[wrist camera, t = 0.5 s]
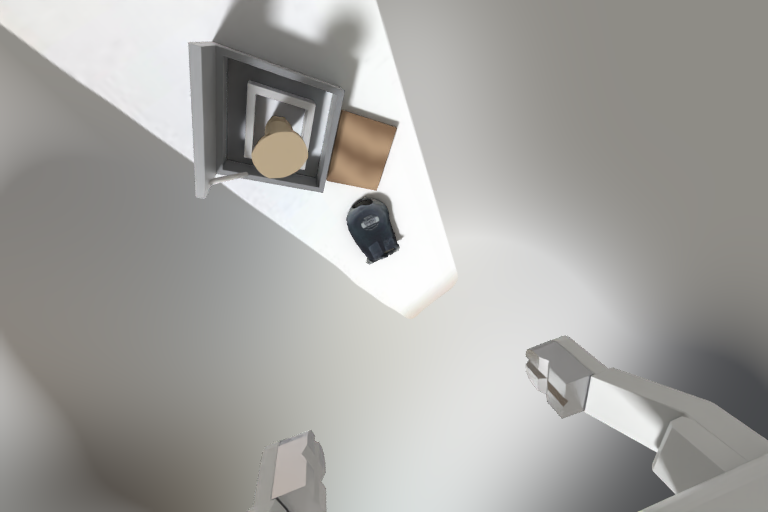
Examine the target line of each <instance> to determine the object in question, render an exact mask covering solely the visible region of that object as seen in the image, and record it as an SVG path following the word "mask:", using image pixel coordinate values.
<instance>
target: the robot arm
mask: <svg viewBox="0 0 768 512" xmlns="http://www.w3.org/2000/svg"><path fill="white" fill-rule="evenodd" d="M526 357H527V358H528V359H529V361H528V362H527V364H526V372H527V375H528V377H529V379H530V381H531V383H532V384H533V385H534V387H535V388H536V389H537V390H538V391H540V392H542V393H544V394H546V397H547V402H548V403H549V404H550V405H551V407H552V408H553V409H554V410H555V411H556V412H557V414H559V416H560V417H561V418H565V417H568V416H571V415H574V414H576V413H579V412H582V411H585V413H587V414H589V415H591V416H593V417H594V418H596V419H598V420H600V421H602V422H604V423H605V424H607V425H609V426H611V427H612V428H614V429H616V430H618V431H620V432H621V433H623V434H625V435H627V436H629V437H630V438H632V439H634V440H636V441H638V442H639V443H641V444H643V445H645V446H646V447H648V448H650V449H652V450H654V451H655V452H657V454H656V457H655V459H654V461H653V463H652V469H653V471H654V472H655V474H656V475H658V477H659V478H660V479H661V480H662V481H663V482H664V483H665V484H666V485H667V486H668V487H669V488H670V489H671V490H672V491H673V492H674V493H675V494H676V495H674V496H672V497H670V498H667V499H665V500H663V501H661V502H659V503H657V504H654V505H652V506H650V507H648V508H645V509H643V510H641V511H639V512H768V440H766V439H765V438H763V437H762V436H761V435H759V434H758V433H756V432H755V431H753V430H752V429H750V428H749V427H747V426H746V425H744V424H743V423H742V422H740V421H739V420H737V419H736V418H734V417H732V416H731V415H730V414H728V413H727V412H725V411H724V410H723V409H721V408H720V407H718V406H717V405H715V404H714V403H712V402H710V401H706V400H704V399H701V398H698V397H695V396H693V395H689V394H687V393H684V392H681V391H678V390H675V389H672V388H670V387H667V386H664V385H661V384H658V383H655V382H653V381H649V380H647V379H644V378H641V377H638V376H635V375H632V374H630V373H627V372H624V371H621V370H618V369H615V368H609V369H608V368H607V367H606V366H605V365H603V364H602V363H601V362H600V361H598V360H597V359H596V358H595V357H593V356H592V355H591V354H590V353H588V352H587V351H586V350H585V349H583V348H582V347H581V346H580V345H578V344H577V343H576V342H575V341H573V340H572V339H571V338H570V337H568V336H561V337H559V338H556V339H554V340H550V341H548V342H545V343H543V344H540V345H537V346H535V347H532V348H530V349H528V350H527V351H526ZM325 473H326V471H325V458H324V453H323V449H322V447H321V445H320V443H319V442H316V441H315V435H314V434H313V432H312V430H309V431H306V432H303V433H300V434H298V435H295V436H292V437H289V438H286V439H284V440H280V441H277V442H275V443H272V444H269V445H267V446H265V448H264V450H263V452H262V457H261V463H260V469H259V474H258V480H257V487H256V492H255V497H254V503H253V508H250V509H248V510H247V512H326V488H325V486H324V485H323V483H322V482H321V481H322V479H323V477H324V475H325Z"/></svg>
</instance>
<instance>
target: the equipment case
mask: <svg viewBox="0 0 768 512" xmlns="http://www.w3.org/2000/svg"><path fill="white" fill-rule="evenodd" d="M188 46H189V66H190V87H191V107H192V128H193V148H194V168H195V188H196V197H197V198H204V199H206V196H207V194H208V191H209V189H210V187H211V185H213V184H217V183H221V182H226V181H230V180H234V179H239V178H243V179H249V180H254V181H260V182H265V183H271V184H277V185H282V186H288V187H293V188H299V189H304V190H310V191H316V192H321V193H323V191H324V186H325V181H326V177H327V172H328V167H329V163H330V158H331V153H332V149H333V144H334V139H335V135H336V130H337V125H338V121H339V116H340V111H341V107H342V102H343V97H344V93H345V91H344V90H343V89H342V88H340V87H338V86H335V85H333V84H330V83H327V82H324V81H321V80H319V79H316V78H313V77H310V76H307V75H305V74H302V73H299V72H296V71H293V70H291V69H288V68H285V67H282V66H279V65H277V64H274V63H271V62H268V61H265V60H263V59H260V58H257V57H254V56H251V55H248V54H246V53H243V52H240V51H237V50H234V49H232V48H229V47H226V46H223V45H220V44H218V43H215V42H188ZM228 58H231V59H234V60H237V61H240V62H243V63H245V64H248V65H251V66H254V67H257V68H260V69H263V70H266V71H269V72H272V73H275V74H278V75H281V76H283V77H286V78H289V79H292V80H295V81H298V82H301V83H304V84H307V85H310V86H313V87H316V88H319V89H321V90H324V91H327V92H330V93H333V94H332V100H331V105H330V110H329V115H328V120H327V125H326V130H325V136H324V141H323V146H322V151H321V156H320V161H319V166H318V171H317V177H316V178H315V177H310V176H305V175H300V174H295V173H293V174H291V175H289V176H287V177H283V178H268V177H266V176H264V175H262V174H261V173H260V172H259V171H258V170H257V168H256V167H255V165H250V164H245V163H240V162H235V161H230V160H226V157H227V84H228ZM256 94H257V95H261V96H264V97H267V98H270V99H274V100H277V101H280V102H284V103H287V104H290V105H294V106H297V107H300V108H303V109H305V113H304V120H303V127H302V133H301V138H302V139H303V140H304V142H305V144H306V147H307V150H308V148H309V142H310V136H311V130H312V124H313V118H314V112H315V106H316V104H315V103H314V101H313V100H310V99H307V98H304V97H301V96H297V95H294V94H291V93H288V92H285V91H282V90H279V89H276V88H272V87H269V86H266V85H263V84H260V83H257V82H254V81H251V80H249V82H248V85H247V106H246V127H245V148H244V157H245V158H250V159H252V156H251V154H252V151H253V149H254V147H255V146H253V139H254V124H255V108H256ZM305 166H306V162H305V163H304V164H303V166H302V167H301V168H300V169H303V170H305ZM216 174H221V175H226V176H223V177H219V178H215V175H216Z"/></svg>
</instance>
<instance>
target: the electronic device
mask: <svg viewBox="0 0 768 512" xmlns="http://www.w3.org/2000/svg"><path fill="white" fill-rule="evenodd" d="M367 200H371V201H373V202H372V204H370V205H360V206H358V207H357V208H354V206H355V205H357V204H358V203H360V202H362V201H367ZM353 208H354V209H353ZM346 220H347V225H348V229H349V231H350V233H351V235H352V237H353V239H354V240H355V242H356V244H357V245H358V246H359V248H360V249H361V250H362V252H363V253H364V254H365V255H366V256H367V262H366V263H368V264H372V263H374V262H376V261H378V260H380V259H383V258H386V257H388V255H391V254H393V253H394V252H396V251H398V250H399V244H397V240H396V237H395V233H394V232H393V229H392V226H391V223H390V220H389V212H388V209H387V207H386V206H385V204H383V203H382V202H380V201H378V200H376V199H368V198H366V197H364V198H363V199H362V200H360V201H358V202H357V203H355V204H354V205H353V206H352V208H351V209H350V211H349V213H348V215H347V219H346Z"/></svg>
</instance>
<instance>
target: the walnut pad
mask: <svg viewBox="0 0 768 512" xmlns="http://www.w3.org/2000/svg"><path fill="white" fill-rule="evenodd" d="M396 129H397V128H396V127H394V126H391V125H388V124H385V123H382V122H379V121H375V120H372V119H369V118H366V117H363V116H360V115H357V114H354V113H350V112H347V111H344V110H341V112H340V117H339V121H338V126H337V131H336V135H335V140H334V145H333V149H332V154H331V159H330V163H329V168H328V173H327V177H326V180H327V181H331V182H336V183H341V184H346V185H351V186H356V187H361V188H366V189H371V190H376V191H377V188H378V184H379V181H380V178H381V175H382V172H383V169H384V166H385V163H386V160H387V157H388V154H389V151H390V147H391V144H392V141H393V138H394V135H395V132H396Z"/></svg>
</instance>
